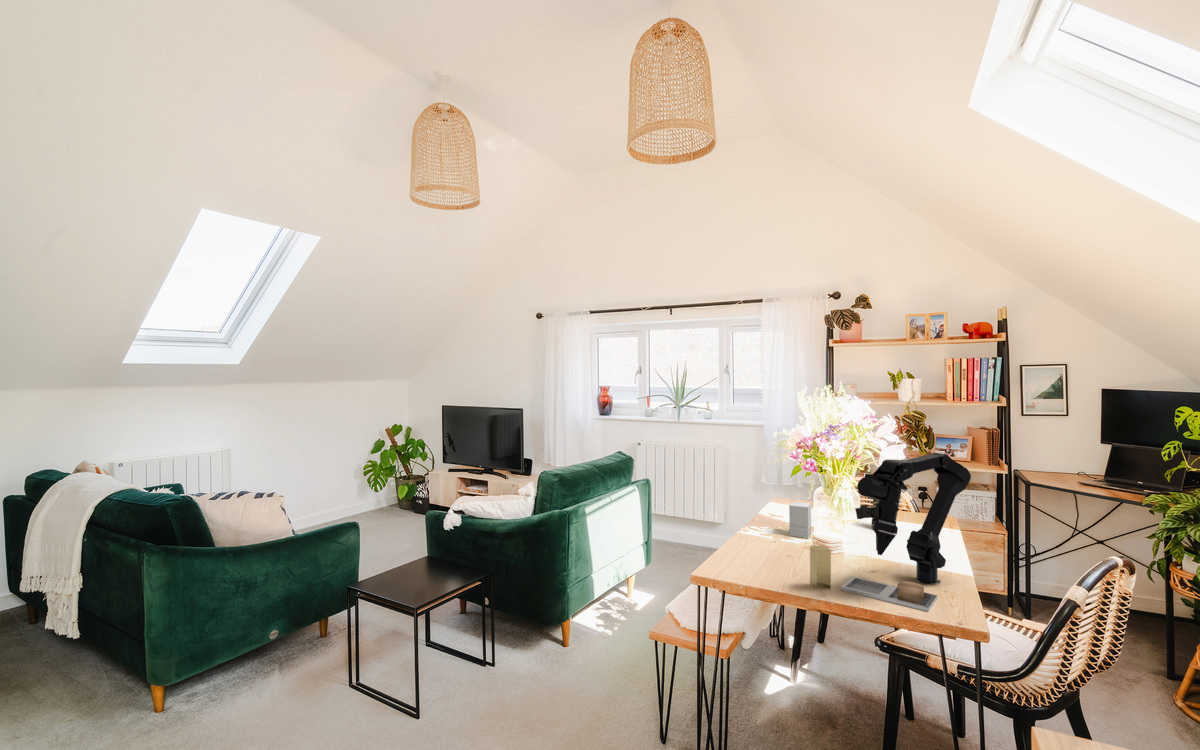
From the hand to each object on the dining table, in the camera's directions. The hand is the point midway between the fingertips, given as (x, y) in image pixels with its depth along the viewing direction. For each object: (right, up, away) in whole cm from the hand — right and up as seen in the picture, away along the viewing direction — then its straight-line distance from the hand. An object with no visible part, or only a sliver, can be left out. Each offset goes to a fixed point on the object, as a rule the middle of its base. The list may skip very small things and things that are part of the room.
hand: (878, 552), depth 170 cm
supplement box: (-3, -11, +58) cm, 60 cm away
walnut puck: (+5, -11, -9) cm, 15 cm away
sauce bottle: (+33, -11, +66) cm, 75 cm away
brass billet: (-16, -12, +4) cm, 20 cm away
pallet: (0, -12, -5) cm, 13 cm away
